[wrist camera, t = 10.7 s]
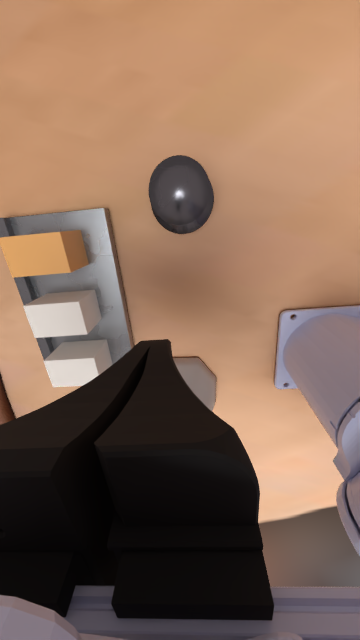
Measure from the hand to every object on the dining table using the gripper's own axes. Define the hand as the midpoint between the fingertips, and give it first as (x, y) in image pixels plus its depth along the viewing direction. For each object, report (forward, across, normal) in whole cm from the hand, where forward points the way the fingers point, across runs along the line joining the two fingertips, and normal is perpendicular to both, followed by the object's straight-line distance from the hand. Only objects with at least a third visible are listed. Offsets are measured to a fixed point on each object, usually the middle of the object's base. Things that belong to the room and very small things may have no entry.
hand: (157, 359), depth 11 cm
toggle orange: (+9, +8, -4) cm, 13 cm away
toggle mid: (+9, +8, 0) cm, 12 cm away
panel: (+10, +8, 0) cm, 13 cm away
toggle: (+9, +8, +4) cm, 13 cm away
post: (+10, -2, -7) cm, 12 cm away
